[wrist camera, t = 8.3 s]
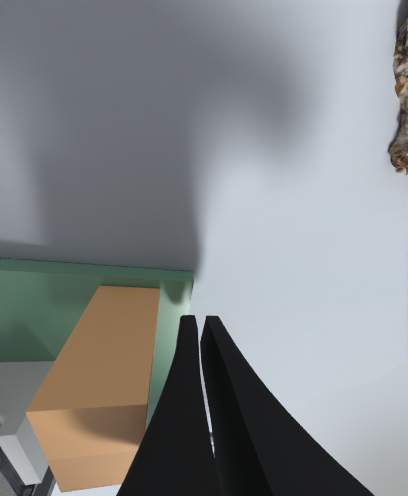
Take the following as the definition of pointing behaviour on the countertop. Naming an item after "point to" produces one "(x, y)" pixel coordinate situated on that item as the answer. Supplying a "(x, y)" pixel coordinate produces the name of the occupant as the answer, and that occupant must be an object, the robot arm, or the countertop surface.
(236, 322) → the countertop surface
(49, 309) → the board
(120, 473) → the orange l-shaped block
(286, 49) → the countertop surface
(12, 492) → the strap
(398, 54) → the mineral rock
